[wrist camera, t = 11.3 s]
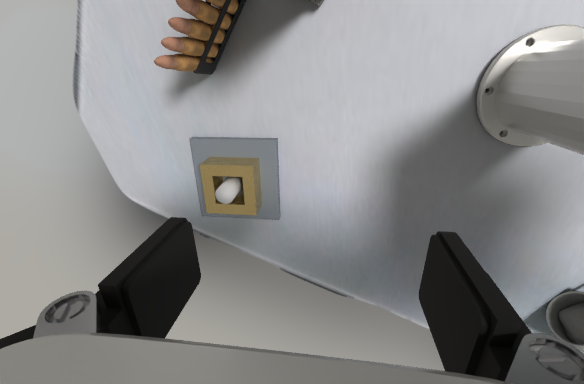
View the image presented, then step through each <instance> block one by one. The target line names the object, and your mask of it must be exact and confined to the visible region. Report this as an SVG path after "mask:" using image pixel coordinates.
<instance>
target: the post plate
mask: <svg viewBox="0 0 584 384" xmlns="http://www.w3.org/2000/svg"><path fill="white" fill-rule="evenodd" d="M190 144H191V150H192V156H193V162H194V169H195V175H196V181H197V187H198V194H199V200H200V206H201V212H202V216H212V217H232V218H253V219H273V220H279V219H280V196H279V166H278V138H227V137H192V138H190ZM209 157H244V158H259V160H260V177H261V193H262V205H261V207H260V209H259V211H258V213H257V215H237V214H217V213H207V211H206V204H205V198H204V191H203V184H202V178H201V171H200V164H201V163H202V162H204V161H205V160H206V159H208V158H209ZM237 194H244V190H243V179H242V177H230V176H223V183H222V184H221V185H220V186H219V188H218V189H217V190H216V192H215V196H216V198H217V200H218V201H219V202H221V203H223V204H229V203H231V202H232V201H233V199H234V198H235V196H236V195H237Z"/></svg>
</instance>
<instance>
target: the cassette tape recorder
mask: <svg viewBox="0 0 584 384" xmlns="http://www.w3.org/2000/svg"><path fill="white" fill-rule="evenodd" d="M311 1H312V2H313V3H315V4H316V5H317V6H318V7H320V5H321V4H322V2H323V1H324V0H311Z"/></svg>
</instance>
